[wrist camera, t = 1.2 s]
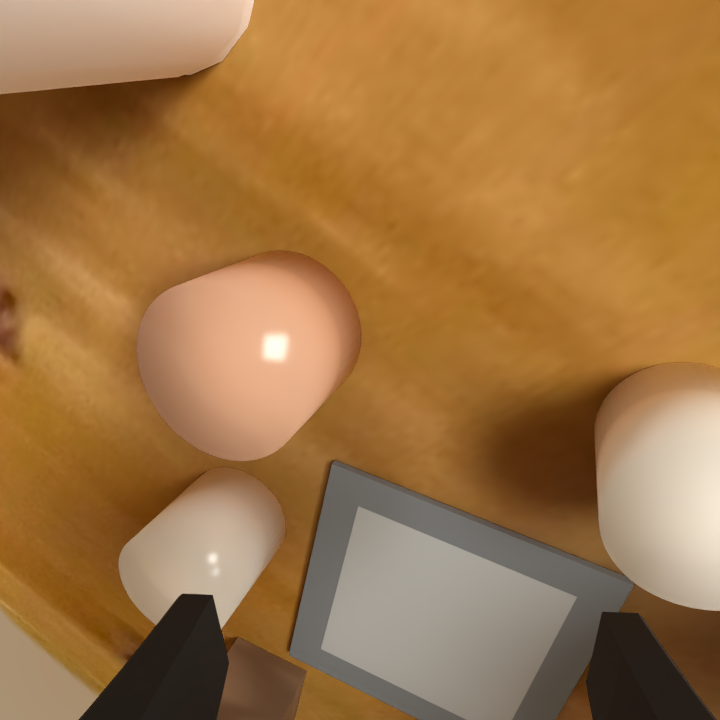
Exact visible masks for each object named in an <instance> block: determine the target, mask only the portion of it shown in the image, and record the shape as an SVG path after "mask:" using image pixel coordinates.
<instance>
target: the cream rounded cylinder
mask: <svg viewBox="0 0 720 720" xmlns="http://www.w3.org/2000/svg"><path fill="white" fill-rule="evenodd" d="M594 436H595V456H596V476H597V497H598V517H599V529H600V535H601V538H602V542H603V544H604V546H605V549H606V551H607V553H608V555H609V556H610V558H611V559H612V561H613V562H614V564H615V565H616V566H617V567H618V568H619V569H620V571H621V572H622V573H623V574H625V575H626V576H627V577H628V578H629V579H630V580H631V581H633V582H634V583H635V584H637V585H638V586H639V587H641V588H643V589H644V590H646V591H648V592H649V593H651V594H653V595H655V596H657V597H660V598H662V599H664V600H667V601H669V602H672V603H675V604H678V605H682V606H686V607H690V608H696V609H702V610H713V611H720V369H719V368H716V367H713V366H709V365H705V364H699V363H691V362H675V363H666V364H660V365H655V366H652V367H649V368H646V369H643V370H641V371H639V372H636V373H634V374H632V375H631V376H629V377H627V378H626V379H624V380H623V381H622V382H620V383H619V384H618V385H616V386H615V387H614V388H613V389H612V390H611V391H610V393H609V394H608V395H607V396H606V398H605V399H604V401H603V403H602V404H601V406H600V408H599V411H598V413H597V416H596V421H595V431H594Z"/></svg>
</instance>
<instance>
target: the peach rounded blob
mask: <svg viewBox="0 0 720 720" xmlns="http://www.w3.org/2000/svg"><path fill="white" fill-rule="evenodd" d="M360 347H361V327H360V321H359V316H358V312H357V310H356V307H355V304H354V302H353V300H352V298H351V296H350V294H349V292H348V291H347V289H346V288H345V287H344V285H343V284H342V283H341V281H340V280H339V279H338V278H337V277H336V276H335V275H334V274H333V273H332V272H331V271H330V270H329V269H328V268H326V267H325V266H324V265H322V264H321V263H319V262H318V261H316V260H314V259H312V258H310V257H308V256H305V255H303V254H300V253H296V252H292V251H282V250H279V251H269V252H264V253H261V254H258V255H255V256H253V257H250V258H248V259H245V260H242V261H240V262H237V263H235V264H232V265H229V266H227V267H224V268H221V269H219V270H216V271H214V272H211V273H208V274H206V275H203V276H200V277H198V278H195V279H193V280H190V281H187V282H185V283H182V284H179V285H177V286H174V287H172V288H170V289H168V290H166V291H165V292H163V293H162V294H161V295H159V296H158V297H157V298H156V299H155V300H154V301H153V302H152V303H151V305H150V306H149V307H148V309H147V311H146V312H145V314H144V316H143V318H142V321H141V324H140V327H139V331H138V336H137V361H138V368H139V372H140V376H141V379H142V382H143V385H144V388H145V390H146V392H147V394H148V396H149V398H150V400H151V402H152V404H153V405H154V407H155V409H156V410H157V412H158V413H159V414H160V416H161V417H162V418H163V420H164V421H165V422H166V423H167V424H168V425H169V427H170V428H171V429H172V430H173V431H174V432H176V433H177V434H178V435H179V436H180V437H181V438H183V439H184V440H185V441H186V442H188V443H189V444H191V445H192V446H194V447H196V448H197V449H199V450H201V451H203V452H205V453H207V454H209V455H212V456H215V457H218V458H222V459H226V460H233V461H250V460H256V459H260V458H263V457H266V456H268V455H270V454H272V453H274V452H276V451H277V450H278V449H280V448H281V447H282V446H284V445H285V443H286V442H287V441H288V440H289V439H290V438H291V437H292V436H293V435H294V434H295V433H296V432H297V431H298V430H299V429H300V428H301V427H302V426H303V424H304V423H305V422H306V421H307V420H308V419H309V418H310V417H311V416H312V415H313V414H314V413H315V412H316V411H317V410H318V409H319V408H320V407H321V405H322V404H323V403H324V402H325V401H326V400H327V399H328V398H329V397H330V396H331V395H332V394H333V393H334V392H335V391H336V390H337V389H338V388H339V386H340V385H341V384H342V383H343V382H344V381H345V380H346V379H347V378H348V377H349V375H350V374H351V372H352V371H353V369H354V367H355V364H356V362H357V359H358V356H359V353H360Z"/></svg>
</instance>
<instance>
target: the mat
mask: <svg viewBox="0 0 720 720" xmlns="http://www.w3.org/2000/svg"><path fill="white" fill-rule="evenodd" d="M633 587H634V582H633V581H631V580H630V579H629V578H628V577H626V576H623V575H621V574H618V573H616V572H613V571H611V570H608V569H606V568H603V567H601V566H598V565H596V564H593V563H591V562H588V561H586V560H583V559H581V558H578V557H576V556H573V555H571V554H568V553H566V552H563V551H561V550H558V549H556V548H553V547H551V546H548V545H546V544H543V543H541V542H538V541H536V540H533V539H531V538H528V537H526V536H523V535H521V534H518V533H516V532H513V531H511V530H508V529H506V528H503V527H501V526H498V525H496V524H493V523H491V522H488V521H486V520H483V519H481V518H478V517H476V516H473V515H471V514H468V513H466V512H463V511H461V510H458V509H456V508H453V507H451V506H448V505H446V504H443V503H441V502H438V501H436V500H433V499H431V498H428V497H426V496H423V495H421V494H418V493H416V492H413V491H411V490H408V489H406V488H403V487H401V486H398V485H396V484H393V483H391V482H388V481H386V480H383V479H381V478H378V477H376V476H373V475H371V474H368V473H366V472H363V471H361V470H358V469H356V468H353V467H351V466H348V465H346V464H343V463H341V462H338V461H336V460H334V462H333V463H332V466H331V470H330V475H329V479H328V484H327V488H326V493H325V497H324V501H323V506H322V510H321V515H320V519H319V524H318V528H317V532H316V537H315V541H314V546H313V550H312V555H311V559H310V563H309V568H308V572H307V577H306V581H305V586H304V590H303V594H302V599H301V603H300V608H299V612H298V617H297V621H296V625H295V630H294V634H293V639H292V643H291V648H290V652H289V655H290V656H292V657H294V658H296V659H298V660H300V661H302V662H304V663H306V664H308V665H310V666H312V667H314V668H316V669H318V670H320V671H322V672H324V673H326V674H328V675H330V676H332V677H334V678H336V679H338V680H340V681H342V682H344V683H346V684H348V685H350V686H352V687H354V688H356V689H358V690H360V691H362V692H364V693H366V694H368V695H370V696H372V697H374V698H376V699H378V700H380V701H382V702H384V703H386V704H388V705H390V706H392V707H394V708H396V709H398V710H400V711H402V712H404V713H407V714H409V715H411V716H413V717H415V718H417V719H419V720H556V718H557V716H558V715H559V713H560V711H561V710H562V708H563V706H564V704H565V703H566V701H567V699H568V698H569V696H570V694H571V693H572V691H573V689H574V687H575V686H576V684H577V682H578V681H579V679H580V677H581V675H582V674H583V672H584V670H585V669H586V667H587V665H588V663H589V662H590V660H591V658H592V654H593V649H594V645H595V641H596V636H597V632H598V628H599V623H600V619H601V614H602V612H619V610H620V609H621V607H622V605H623V604H624V602H625V600H626V599H627V597H628V595H629V593H630V592H631V590H632V588H633Z"/></svg>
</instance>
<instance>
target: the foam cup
mask: <svg viewBox="0 0 720 720" xmlns="http://www.w3.org/2000/svg"><path fill="white" fill-rule="evenodd" d="M253 4H254V0H0V94H8V93H18V92H29V91H39V90H49V89H60V88H70V87H80V86H90V85H101V84H111V83H121V82H132V81H142V80H152V79H162V78H173V77H180V76H182V75H192V74H194V73H196V72H199V71H201V70H203V69H205V68H208V67H210V66H212V65H214V64H217V63H219V62H221V61H223V60H224V58H225V57H226V56H227V54H228V53H229V52H230V50H231V49H232V48H233V46H234V45H235V44H236V42H237V41H238V39H239V38H240V37H241V35H242V34H243V33H244V31H245V30H246V29H247V27H248V24H249V20H250V16H251V12H252V8H253Z"/></svg>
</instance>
